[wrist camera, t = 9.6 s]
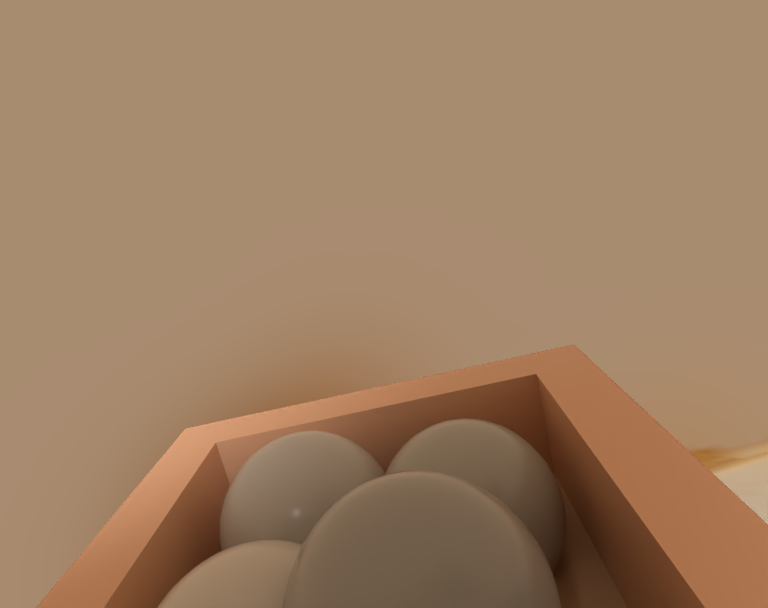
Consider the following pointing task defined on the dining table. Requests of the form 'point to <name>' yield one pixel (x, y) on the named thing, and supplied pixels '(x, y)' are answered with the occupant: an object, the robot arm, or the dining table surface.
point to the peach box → (432, 505)
